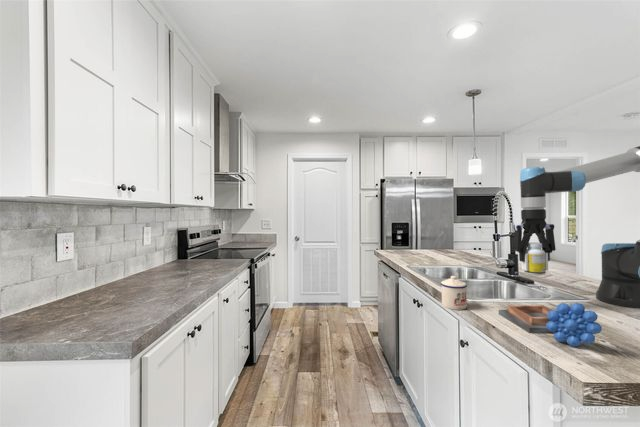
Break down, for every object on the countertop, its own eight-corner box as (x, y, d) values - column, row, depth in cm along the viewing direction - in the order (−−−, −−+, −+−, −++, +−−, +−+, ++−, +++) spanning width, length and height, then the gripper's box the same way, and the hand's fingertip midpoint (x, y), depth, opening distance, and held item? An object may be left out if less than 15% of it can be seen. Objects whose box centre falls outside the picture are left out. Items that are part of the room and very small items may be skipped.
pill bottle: (526, 271, 114) (525, 241, 114) (547, 273, 109) (546, 242, 109) (522, 274, 109) (521, 243, 109) (544, 276, 105) (543, 244, 105)
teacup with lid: (457, 312, 106) (457, 280, 105) (436, 305, 113) (435, 275, 113) (476, 306, 112) (476, 276, 112) (455, 300, 120) (454, 271, 119)
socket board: (544, 313, 103) (544, 303, 102) (584, 333, 87) (584, 320, 87) (498, 313, 103) (498, 303, 103) (529, 333, 87) (529, 320, 87)
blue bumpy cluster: (605, 349, 76) (605, 304, 76) (599, 357, 72) (599, 309, 72) (551, 334, 86) (551, 294, 86) (543, 340, 82) (542, 298, 82)
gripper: (552, 208, 112) (553, 267, 113) (500, 209, 113) (502, 268, 113) (567, 207, 105) (569, 271, 105) (513, 209, 106) (514, 272, 106)
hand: (534, 269), depth 109 cm, fingers closed on pill bottle, 6 cm apart
